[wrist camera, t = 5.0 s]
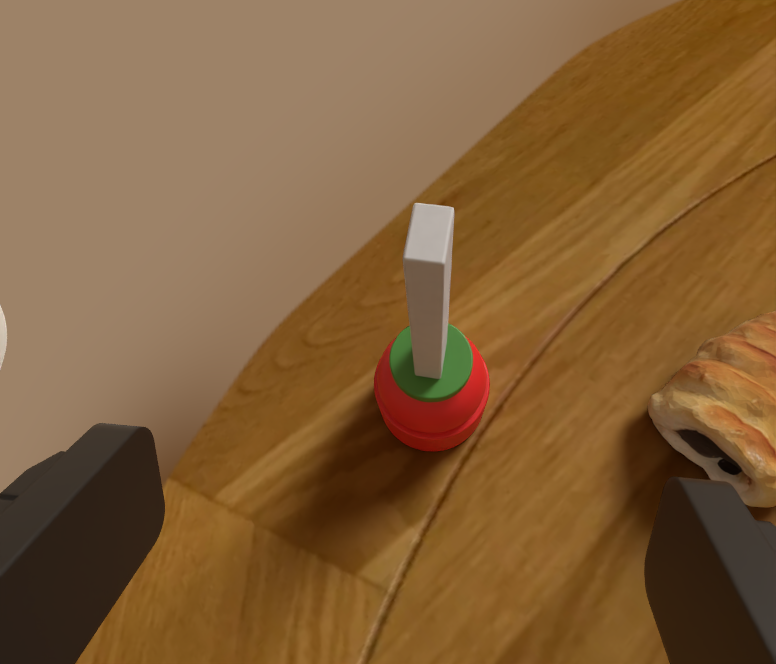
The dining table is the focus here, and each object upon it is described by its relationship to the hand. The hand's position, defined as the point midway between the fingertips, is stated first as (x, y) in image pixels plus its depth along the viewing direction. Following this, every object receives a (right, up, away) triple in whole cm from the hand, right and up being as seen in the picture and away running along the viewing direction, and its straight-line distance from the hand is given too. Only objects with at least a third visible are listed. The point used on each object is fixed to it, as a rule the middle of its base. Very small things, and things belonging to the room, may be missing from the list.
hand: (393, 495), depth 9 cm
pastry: (+16, -1, +18) cm, 24 cm away
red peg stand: (+2, -1, +19) cm, 19 cm away
